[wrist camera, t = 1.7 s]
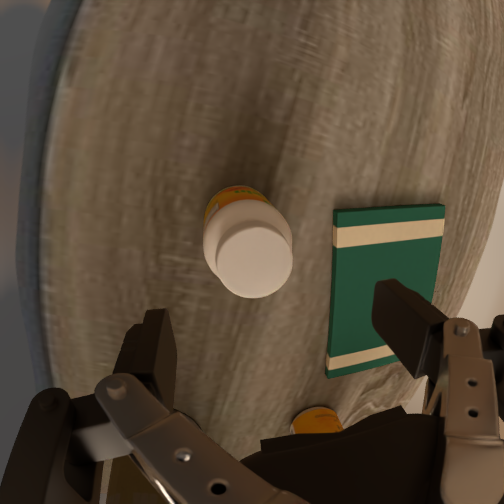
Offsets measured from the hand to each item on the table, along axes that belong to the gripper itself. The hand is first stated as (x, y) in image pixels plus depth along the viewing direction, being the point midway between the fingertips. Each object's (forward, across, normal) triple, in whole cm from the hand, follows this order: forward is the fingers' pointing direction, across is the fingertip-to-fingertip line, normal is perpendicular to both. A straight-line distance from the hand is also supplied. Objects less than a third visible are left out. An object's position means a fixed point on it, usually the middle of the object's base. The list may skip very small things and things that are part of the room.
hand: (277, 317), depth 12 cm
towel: (+15, -14, +9) cm, 22 cm away
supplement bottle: (+15, 0, 0) cm, 15 cm away
